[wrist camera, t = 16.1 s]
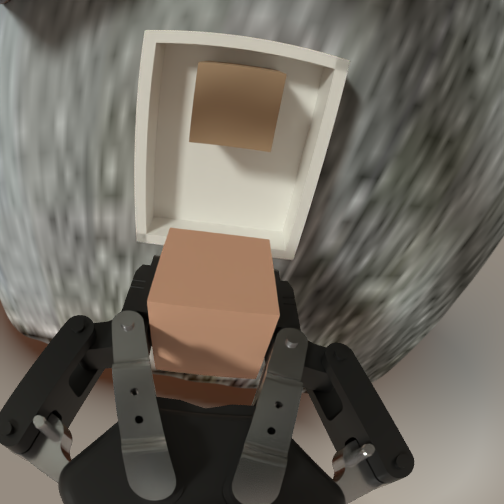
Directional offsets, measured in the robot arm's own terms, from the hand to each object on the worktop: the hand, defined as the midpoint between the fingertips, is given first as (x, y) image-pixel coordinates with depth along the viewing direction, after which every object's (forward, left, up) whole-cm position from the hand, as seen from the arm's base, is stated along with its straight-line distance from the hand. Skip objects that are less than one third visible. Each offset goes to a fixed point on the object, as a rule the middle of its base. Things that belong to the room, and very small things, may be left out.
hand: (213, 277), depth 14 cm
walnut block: (-7, 0, -10) cm, 12 cm away
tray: (-4, 0, -11) cm, 11 cm away
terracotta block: (0, 0, 0) cm, 0 cm away
